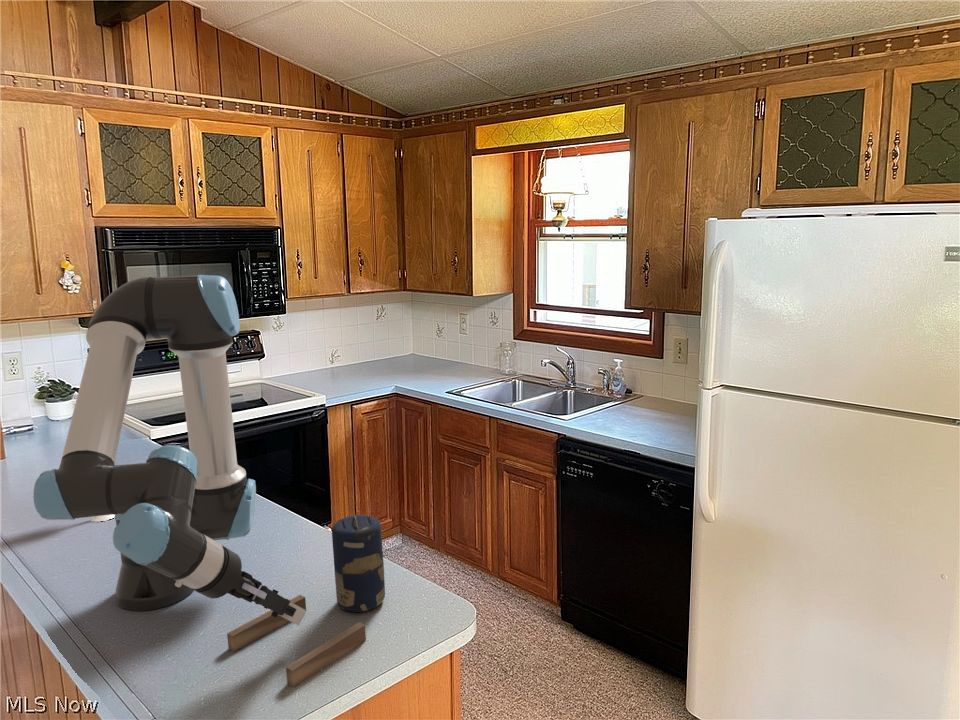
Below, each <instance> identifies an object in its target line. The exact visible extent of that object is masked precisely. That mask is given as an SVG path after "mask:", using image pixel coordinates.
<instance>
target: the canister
mask: <svg viewBox="0 0 960 720" xmlns="http://www.w3.org/2000/svg"><path fill="white" fill-rule="evenodd" d="M382 535H383V534H382V525H381V522H380V521H379V519H377V518H376V517H375V516H371V515H367V514H354V515H349V516H346V517H343V518H340V519H338V520H337V521H336V522H335V523H334V524H333V525H332V527H331V538H332V539H331V541H332V554H333V566H334V581H335V582H334V583H335V592H336V593H335V594H336V602H337V604H338V606H339V607H340V608H341V609H343V610H345V611H347V612H354V613H359V612H366V611H369V610H370V611H371V610H372V609H375V608H377V607H378V606H379V605H381V604H382V603H383V602H384V600H385V596H386V587H385V586H386V584H385V583H386V580H385V562H384V553H383V537H382Z"/></svg>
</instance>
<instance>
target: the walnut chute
mask: <svg viewBox="0 0 960 720" xmlns="http://www.w3.org/2000/svg"><path fill="white" fill-rule="evenodd" d="M288 600H289V601H290V602H292V603H294V604H295V605H297V606H299V607H301V608H303V609H304V610H306V611H307V605H306V604H307V603H306V602H307V601H306V596H304V595H302V594H298V595H297V596H295V597H293V598H291V599H288ZM271 614H272V611H270V610H268V611H267V612H265V613H263V614H261V615H258V616H257V617H255V618H253V619H251V620H249V621H247V622H246V623H244V624H242V625H240V626H238V627H236V628H234V629H233V630H231V631H228V632H226V636H227V646H228V649H229V650H231V651H232V652H236V651H239V650H240V649H241V648H244V647H245V646H247V645H249V644H251V643H252V642H254V641H256V640H258V639H260V638H261V637H264V636H265V635H266V634H268V633H270V632H272V631H273V630H275V629H277V628H279V627H281V626H283V625H284V624H287V623H288V622H290V621H289V620H287V619H285V618H283V617H281V616H279V615H278V616H277V618H275V617H273V616H271ZM366 641H367V636H366V625H365V624H364V623H362V622H360V621H358V622H357V623H355V624H353V625H352V626H350V627H349V628H347V629H345V630H343V631H342V632H340V633H339V634H337V635H336V636H334V637H332V638H331V639H329V640H327V641H326V642H324V643H323V644H321V645H319V646H318V647H316V648H315V649H312V650H311V651H310V652H308V653H307V654H305V655H303V656H302V657H300V658H298V659H296V660H295V661H294V662H291V663H290V664H289V665H287V666H286V667H285V672H286V683H287V684H288V685H289V686H291V687H292V688H295V687H296V686H298V685H299V684H301V683H302V682H304V681H305V680H307V679H308V678H310V677H312V676H313V675H315V674H316V673H318V672H319V671H321V670H322V669H324V668H325V667H327V666H329V665H330V664H332V663H333V662H335V661H336V660H338V659H339V658H341V657H342V656H344V655H346V654H347V653H348V652H350V651H352V650H353V649H355V648H356V647H358V646H359V645H361V644H362V643H364V642H366Z"/></svg>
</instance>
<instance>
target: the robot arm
mask: <svg viewBox="0 0 960 720" xmlns="http://www.w3.org/2000/svg"><path fill="white" fill-rule="evenodd" d="M240 324H241V323H240V314H239V310H238V304H237V300H236V296H235V294H234V292H233V288H232V286H231V285H230V282H229V281H228V280H227V279H226V278H225V277H224V276H222V275H221V276H220V275H208V274H207V275H205V274H194V275H178V276H177V275H176V276H159V277H157V276H155V277H153V276H152V277H151V276H147V277H146V276H145V277H140V278H139V277H138V278H135V279H132V280H129V281H127V282H126V283H123V284H121V285H120V286H119V287H117V288H116V289H115V290H113V291H112V292H111V293H109V294H108V295H107V296H106V298H105V299H104V300H103V301H102V302H101V303H100V304H99V305H98V307H97V308H96V309H95V311H94V313H93V315H92V316H91V319H90V321H89V323H88V327H87V330H86V334H85V340H86V342H87V344H88V345H89V349H88V353H87V357H86V361H85V364H84V369H83V373H82V377H81V381H80V384H79V389H78V393H77V397H76V400H75V403H74V409H73V412H72V417H71V421H70V425H69V428H68V433H67V435H66V440H65V444H64V448H63V451H62V456H61V461H60V464H59V467H58V469H56V468H54V469H51V470H45V471H42V472H41V473H39V476H38V477H37V478H36V480H35V483H34V486H33V496H32V497H33V505H34V508H35V510H36V512H37V514H39V516H40V517H41V518H42V519H44V520H47V521H48V520H49V521H50V520H51V521H52V520H53V521H59V520H64V521H65V520H69V521H70V520H72V521H74V520H76V519H81V518H82V519H83V518H92V517H94V516H103V515H112V514H113V515H115V519H114V520H115V525H116V526H115V528H114V530H113V533H112V534H113V535H112V541H113V546H114V548H115V549H116V550H117V551H118V553H120V560H121V561H120V562H121V565H120V569H119V574H118V578H117V582H116V587H115V598H116V603H117V605H118V606H119V607H120V608H122V609H124V610H128V611H136V612H139V611H142V612H143V611H150V610H151V611H152V610H157V609H161V608H165V607H167V606H171V605H174V604H175V603H178V602H180V601H182V600H184V599H185V598H187V597H189V595H191V594H192V593H193V592H194V591H195V592H197V593H198V594H201V595H203V596H205V597H207V598H209V599H219V598H222V597H223V596H225V595H227V594H229V595H231V596H233V597H234V598H237V599H242V600H244V601H246V602H249V603H253V602H254V604H255V605H260V606H262V607H263V608H264V609H266V610H269V611H272V614H271V616H273V617H275V618H277V616H278V615H279V616H281V617H283V618H285V619H287V620H289V621H288V622H290V623H293V624H296V625H297V626H300V624H301V622H302V620H303V619H304V617H305V615H306V612H307V609H306V610H304V609H303V608H301V607H299V606H297V605H295V604H294V603H292V602H290V601H289V600H290V599H288V598H285V597H283V596H282V595H279V594H278V593H279V591H278V590H276V589H274V588H273V589H270V588H269V587H268V586H266V585H263V582H261V581H259V580H257V579H256V578H254V577H253V575H252V574H250V573H248V572H246V571H244V570H242V569H243V566H242V564H243V562H242V559H241V558H240V555H238V554H237V553H236V552H234V551H232V550H230V549H229V548H227V547H226V546H224V545H222V544H221V543H220V542H218V541H221V540H222V541H223V540H226V541H229V540H230V539H236V538H243V537H246V536H248V535H249V534H250V532H251V530H252V528H253V525H254V524H253V523H254V517H255V509H256V495H257V485H256V480H254V479H253V478H252V479H251V478H248V477H247V471H246V469H245V468H244V467H242V466H241V465H239V464H238V459H237V449H236V441H235V431H234V430H235V429H234V419H233V411H232V410H233V409H232V402H231V393H230V392H231V391H230V384H229V383H230V381H229V372H228V363H227V354H226V352H227V351H228V350H229V349H230V347H231V346H232V345H233V344H234V343H233V337H234V336H236V335H238V334H239V333H240V330H241V325H240ZM154 339H155V340H159V339H160V340H161V339H162V340H163V339H164V340H165V339H166V340H167V344H168V350H169V351H171V352H172V353H173V354H175V355H176V356H177V357H178V364H179V372H180V381H181V389H182V397H183V403H184V404H183V405H184V413H185V421H186V429H187V431H186V432H187V438H188V446H189V449H187V448H186V447H183V446H179V445H175V444H174V445H173V444H171V445H170V444H168V445H162V446H160V447H158V448H155V449H154V450H152V451H151V452H150V453H149V455H148V457H147V459H146V461H145V462H142V463H141V462H140V463H128V464H127V463H126V464H116V458H117V454H118V449H119V443H120V439H121V434H122V429H123V425H124V419H125V415H126V409H127V404H128V400H129V395H130V391H131V390H130V389H131V386H132V381H133V374H134V371H135V365H136V360H137V357H138V356H137V355H139V354H140V353H142V352H143V351H144V349H145V345H146V343H147V341H149V340H154ZM247 478H248V479H247Z"/></svg>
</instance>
